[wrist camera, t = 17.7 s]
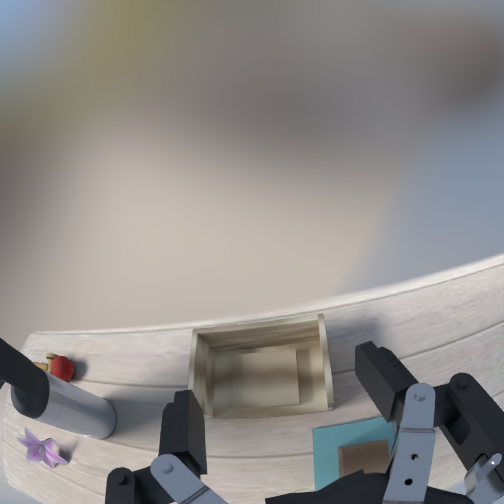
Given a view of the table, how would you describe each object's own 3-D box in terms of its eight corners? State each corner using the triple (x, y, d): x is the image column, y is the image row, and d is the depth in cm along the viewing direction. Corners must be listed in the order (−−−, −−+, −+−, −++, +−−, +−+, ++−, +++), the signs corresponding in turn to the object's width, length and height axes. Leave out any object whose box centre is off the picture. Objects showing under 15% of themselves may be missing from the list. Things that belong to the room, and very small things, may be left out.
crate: (332, 410, 36) (334, 401, 29) (210, 418, 40) (186, 409, 33) (324, 337, 44) (323, 313, 38) (213, 349, 48) (192, 329, 41)
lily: (41, 461, 36) (22, 471, 27) (28, 418, 39) (7, 423, 31) (79, 467, 38) (62, 480, 29) (66, 422, 42) (45, 430, 33)
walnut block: (373, 470, 27) (390, 479, 18) (339, 477, 28) (344, 489, 19) (370, 441, 30) (387, 439, 21) (337, 447, 31) (342, 449, 22)
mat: (395, 483, 25) (397, 484, 24) (315, 498, 27) (315, 499, 26) (389, 415, 33) (391, 414, 32) (312, 429, 35) (312, 429, 34)
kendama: (40, 386, 50) (73, 389, 46) (23, 373, 47) (52, 375, 42) (48, 363, 57) (82, 362, 52) (32, 350, 53) (63, 346, 49)
